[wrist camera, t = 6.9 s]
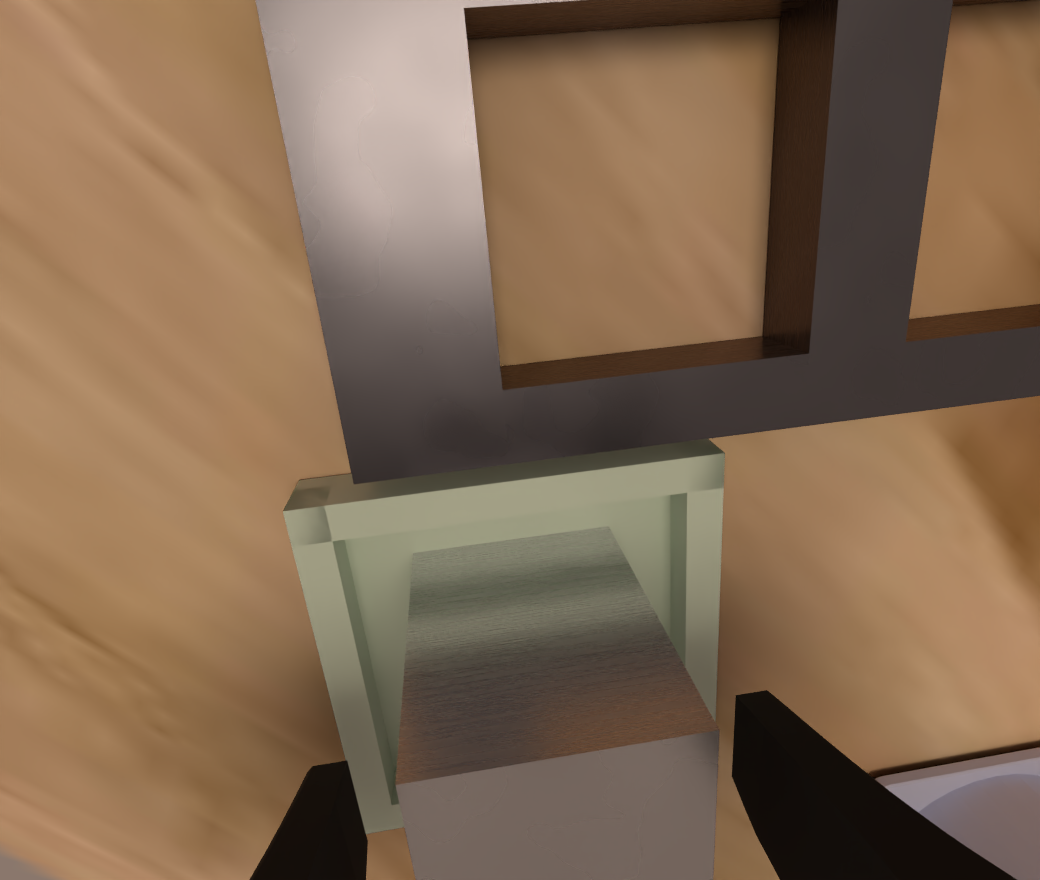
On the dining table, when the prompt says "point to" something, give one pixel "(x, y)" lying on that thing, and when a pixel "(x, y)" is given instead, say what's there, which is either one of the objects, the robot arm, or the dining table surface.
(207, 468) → the dining table surface
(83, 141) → the dining table surface
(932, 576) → the dining table surface
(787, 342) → the dark grey flat frame
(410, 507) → the tray
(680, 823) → the grey rectangular block
